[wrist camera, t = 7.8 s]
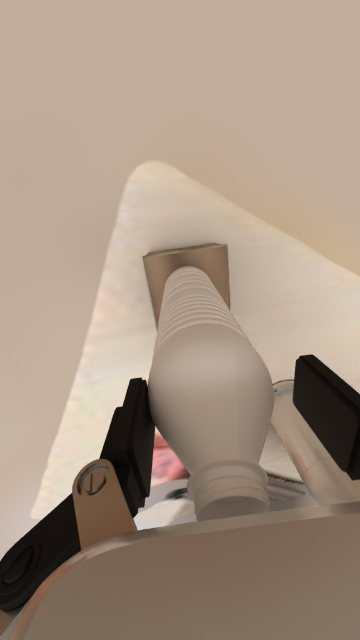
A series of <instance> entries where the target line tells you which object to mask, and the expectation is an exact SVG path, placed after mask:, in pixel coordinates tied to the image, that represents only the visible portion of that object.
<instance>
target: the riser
mask: <svg viewBox="0 0 360 640" xmlns="http://www.w3.org/2000/svg"><path fill="white" fill-rule="evenodd" d="M143 262H144V267H145V272H146V277H147V282H148V288H149V293H150V298H151V303H152V308H153V313H154V318H155V324H156V329H157V331H158V325H159V317H160V311H161V306H162V300H163V294H164V288H165V283H166V281H167V279H168V277H169V276H170V274H171V273H172V272H174V271H175V270H177V269H178V268H181V267H185V266H191V267H196V268H199V269H201V270H202V271H204V272H205V273H206V274H207V275H208V277H209V278H210V280H211V282H212V283H213V285H214V286H215V288H216V289H217V291H218V292H219V294H220V296H221V297H222V299H223V300H224V302H225V303H226V305H227V306H228V308H229V310H230V293H229V270H228V248H227V245H226V244H225V245H221V244H216V243H213V244H207V245H200V246H193V247H186V248H179V249H172V250H165V251H158V252H151V253H148V254H147V255H146V256H143Z"/></svg>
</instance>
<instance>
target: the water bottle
mask: <svg viewBox="0 0 360 640" xmlns="http://www.w3.org/2000/svg"><path fill="white" fill-rule="evenodd" d="M148 404H149V410H150V413H151V417H152V419H153V422H154V424H155V426H156V427H157V429H158V431H159V432H160V434H161V435H162V436H163V438H164V439H165V441H166V442H167V443H168V445H169V446H170V447H171V449H172V450H173V451H174V453H175V454H176V455H177V457H178V458H179V459H180V461H181V462H182V463H183V465H184V466H185V467H186V469H187V470H188V472H189V473H190V474H191V476H190V478H189V480H188V483H187V490H188V493H189V494H190V496H191V497H192V498H193V500H194V504H195V513H196V515H197V521H206V520H213V519H221V518H228V517H236V516H244V515H251V514H259V513H267V512H270V502H269V500H268V496H267V494H266V487H267V484H268V477H267V474H266V472H265V471H264V469H263V468H261V467H260V466H259V465H258V464H259V460H260V457H261V453H262V449H263V446H264V442H265V439H266V435H267V432H268V428H269V424H270V420H271V417H272V412H273V407H274V391H273V385H272V380H271V377H270V374H269V371H268V369H267V367H266V365H265V363H264V362H263V360H262V358H261V357H260V355H259V354H258V352H257V351H256V350H255V349H254V347H253V346H252V344H251V343H250V341H249V340H248V338H247V337H246V335H245V333H244V332H243V330H242V329H241V327H240V326H239V324H238V322H237V321H236V319H235V318H234V316H233V315H232V313H231V312H230V310H229V308H228V306H227V305H226V303H225V302H224V300H223V299H222V297H221V296H220V294H219V292H218V291H217V289H216V288H215V286H214V285H213V283H212V282H211V280H210V278H209V277H208V275H207V274H206V273H205V272H204V271H202V270H201V269H199V268H196V267H191V266H185V267H181V268H178V269H177V270H175V271H174V272H172V273H171V274H170V276H169V277H168V279H167V281H166V283H165V288H164V294H163V300H162V306H161V311H160V317H159V325H158V331H157V337H156V343H155V349H154V355H153V361H152V366H151V370H150V374H149V380H148Z"/></svg>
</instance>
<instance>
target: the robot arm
mask: <svg viewBox="0 0 360 640" xmlns="http://www.w3.org/2000/svg"><path fill="white" fill-rule="evenodd" d="M273 391H274V407H273V412H272V417H271V420H270V424H271V425H273V426H274V428H275V430H276V432H277V434H278V436H279V437H280V439H281V441H282V443H283V445H284V447H285V449H286V451H287V452H288V454H289V456H290V458H291V460H292V462H293V464H294V465H295V467H296V469H297V471H298V473H299V475H300V477H301V479H302V480H303V482H304V484H305V486H306V488H307V490H308V491H309V493H310V495H311V496H312V498H313V499H314V500H315V501H316V502H317V504H318V505H319V506H316V507H307V508H299V509H292V510H283V511H276V512H267V513H259V514H251V515H244V516H236V517H228V518H221V519H213V520H206V521H198V522H191V523H184V524H176V525H171V526H163V527H157V528H150V529H144V530H137V527H136V525H135V522H134V519H133V518H134V517H135V516H136V515H137V513H138V508H142V507H144V505H145V498H146V497H149V495H150V485H151V472H152V460H153V448H154V436H155V424H154V422H153V419H152V417H151V413H150V410H149V404H148V387H147V382H146V380H142V378H134V379H130V382H129V385H128V389H127V392H126V396H125V400H124V403H123V406H122V407H117V408H116V409H115V411H114V414H113V418H112V421H111V424H110V427H109V430H108V433H107V436H106V439H105V443H104V446H103V449H102V452H101V455H100V458H99V459H98V460H94V461H92V462H90V463H89V464H87V465H86V466H85V467H83V469H82V470H81V471H80V472H79V473H78V475H77V476H76V478H75V480H74V483H73V486H72V493H71V494H70V495H69V496H68V497H67V498H66V499H65V500H64V501H62V502H61V503H60V504H59V505H58V506H57V507H56V508H55V509H53V510H52V511H51V512H50V513H49V514H48V515H47V516H46V517H45V518H43V519H42V520H41V521H40V522H39V523H38V524H37V525H36V526H34V527H33V528H32V529H31V530H30V531H29V532H28V533H27V534H25V535H24V536H23V537H22V538H21V539H20V540H19V541H18V542H17V543H15V544H14V546H13V547H12V548H10V549H9V551H8V552H7V553H6V554H5V555H4V557H3V558H2V559H1V561H0V640H360V394H359V393H358V392H357V391H356V390H354V389H353V388H352V387H351V386H350V385H348V384H347V383H346V382H345V381H344V380H343V379H341V378H340V377H339V376H338V375H337V374H335V373H334V372H333V371H332V370H331V369H329V368H328V367H327V366H326V365H325V364H324V363H322V362H321V361H320V360H319V359H318V358H316V357H315V356H314V355H312V354H311V355H303V356H300V357H299V359H297V360H296V366H295V377H294V381H283V382H279V383H277V384H274V385H273Z"/></svg>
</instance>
